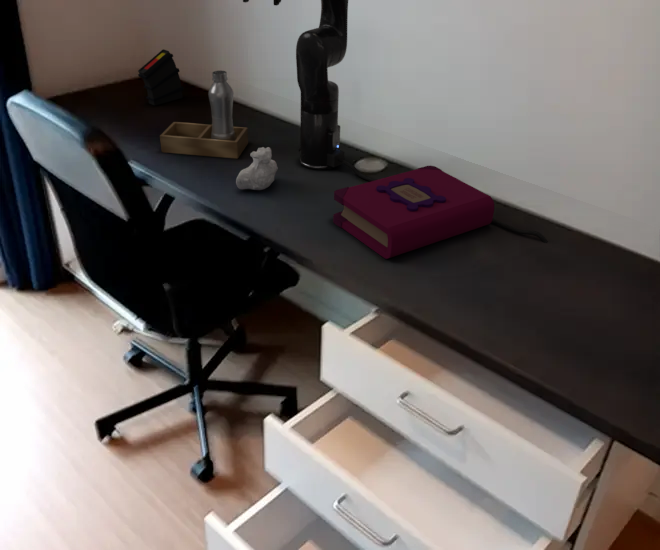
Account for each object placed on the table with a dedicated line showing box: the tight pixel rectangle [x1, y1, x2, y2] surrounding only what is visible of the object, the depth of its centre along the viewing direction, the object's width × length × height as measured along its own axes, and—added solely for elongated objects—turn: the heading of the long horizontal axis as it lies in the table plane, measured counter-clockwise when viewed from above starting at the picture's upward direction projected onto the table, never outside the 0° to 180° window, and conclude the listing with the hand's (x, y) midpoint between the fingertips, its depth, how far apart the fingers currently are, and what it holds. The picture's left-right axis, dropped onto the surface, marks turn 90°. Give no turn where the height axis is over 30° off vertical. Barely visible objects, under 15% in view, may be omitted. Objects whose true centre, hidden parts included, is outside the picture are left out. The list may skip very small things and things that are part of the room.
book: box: [332, 165, 495, 260], centre depth 154 cm, size 21×28×8 cm
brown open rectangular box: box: [159, 121, 249, 160], centre depth 188 cm, size 20×11×4 cm, turn 81°
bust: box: [235, 146, 279, 191], centre depth 167 cm, size 12×8×11 cm
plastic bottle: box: [207, 70, 236, 141], centre depth 184 cm, size 6×7×20 cm
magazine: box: [137, 49, 185, 106], centre depth 217 cm, size 4×13×15 cm, turn 138°
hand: (261, 3), depth 184 cm, fingers open, 8 cm apart
